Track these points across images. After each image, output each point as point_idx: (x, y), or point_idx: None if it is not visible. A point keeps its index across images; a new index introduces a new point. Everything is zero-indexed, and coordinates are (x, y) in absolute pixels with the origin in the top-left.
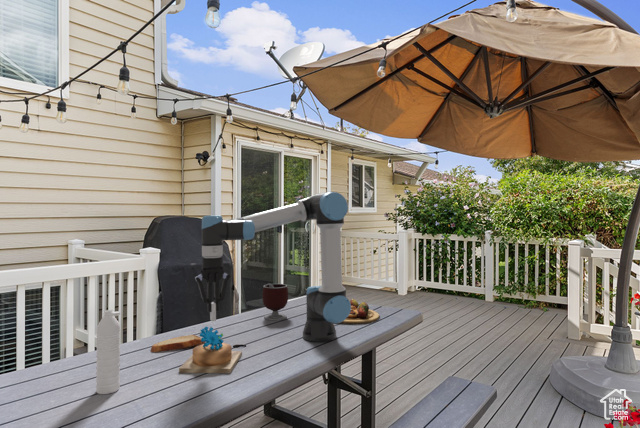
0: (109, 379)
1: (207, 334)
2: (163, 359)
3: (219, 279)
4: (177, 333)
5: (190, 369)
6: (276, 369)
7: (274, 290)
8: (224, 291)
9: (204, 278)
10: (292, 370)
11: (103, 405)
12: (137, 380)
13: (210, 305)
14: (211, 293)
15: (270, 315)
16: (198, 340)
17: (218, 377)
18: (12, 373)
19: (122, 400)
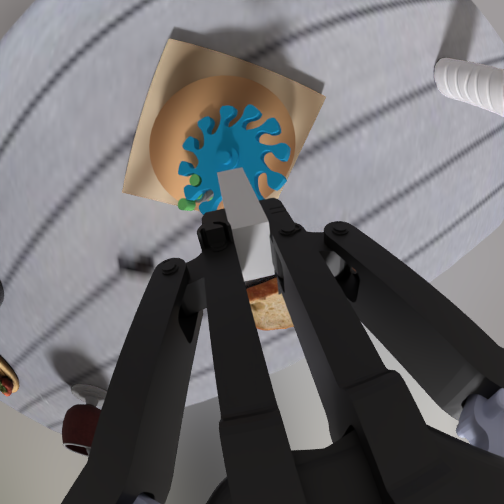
0: (465, 61)
1: (251, 162)
2: (344, 211)
3: (217, 496)
4: (286, 356)
5: (293, 81)
6: (40, 56)
7: (82, 440)
8: (135, 334)
9: (461, 441)
10: (9, 51)
11: (446, 16)
12: (407, 95)
13: (274, 223)
14: (301, 293)
15: (101, 399)
16: (252, 295)
17: (211, 18)
18: (500, 222)
19: (425, 13)
